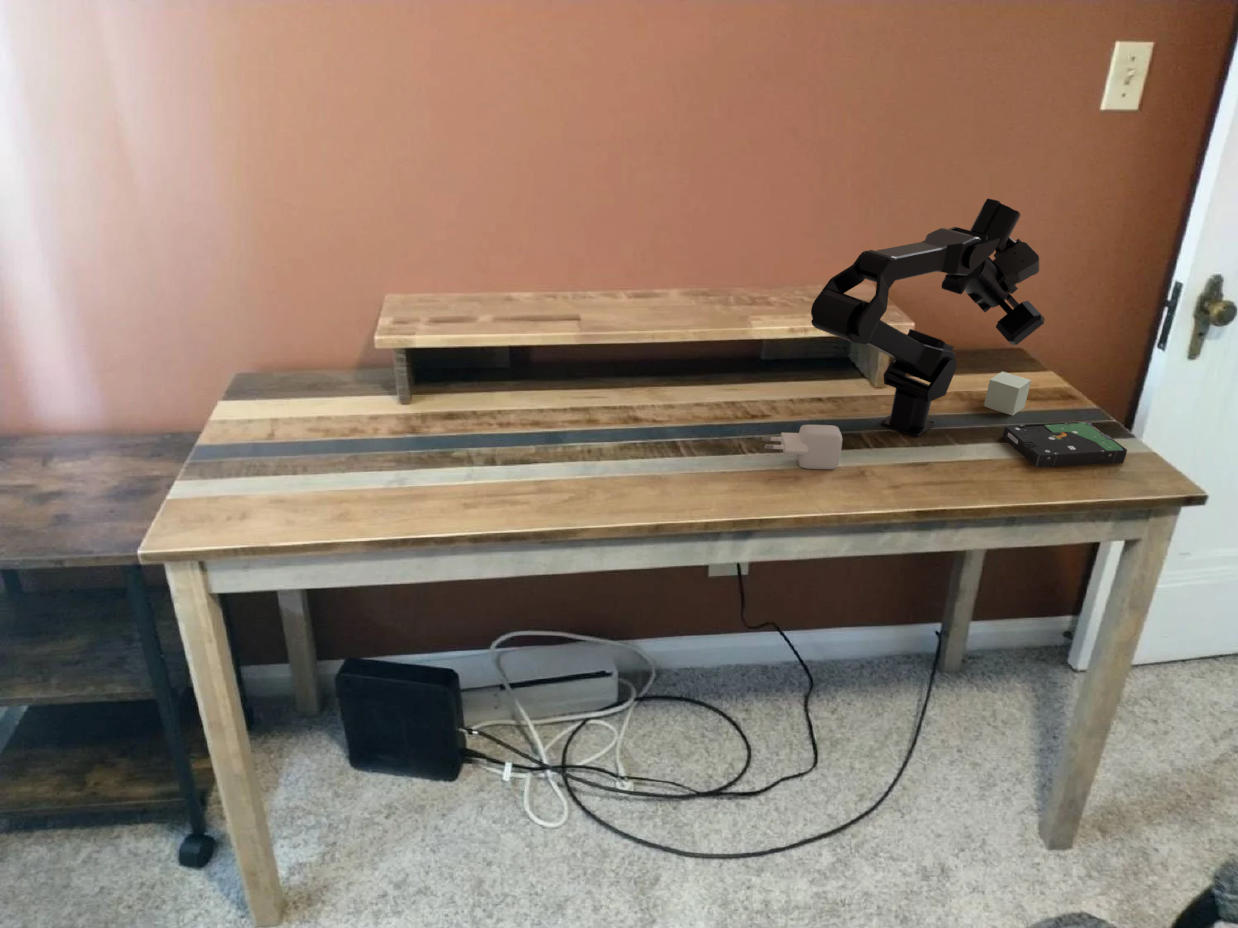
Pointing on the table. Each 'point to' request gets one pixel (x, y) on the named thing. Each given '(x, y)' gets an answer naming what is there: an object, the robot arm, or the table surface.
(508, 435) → the table surface
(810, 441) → the power adapter
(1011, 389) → the sage block
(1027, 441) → the disk drive
